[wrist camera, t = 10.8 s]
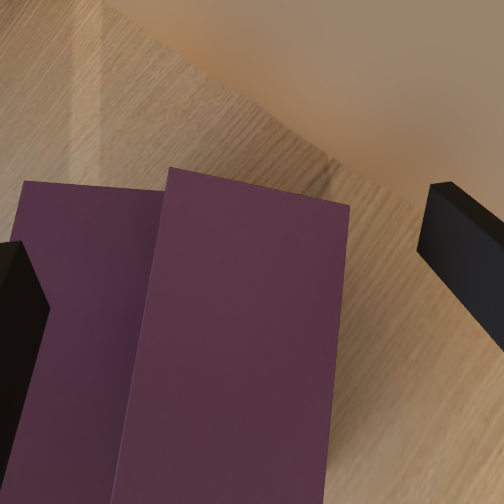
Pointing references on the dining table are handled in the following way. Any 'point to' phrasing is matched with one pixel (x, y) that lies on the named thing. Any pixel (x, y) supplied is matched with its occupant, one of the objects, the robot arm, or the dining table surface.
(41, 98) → the dining table surface
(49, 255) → the cardboard box
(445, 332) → the dining table surface
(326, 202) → the flap
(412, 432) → the dining table surface
